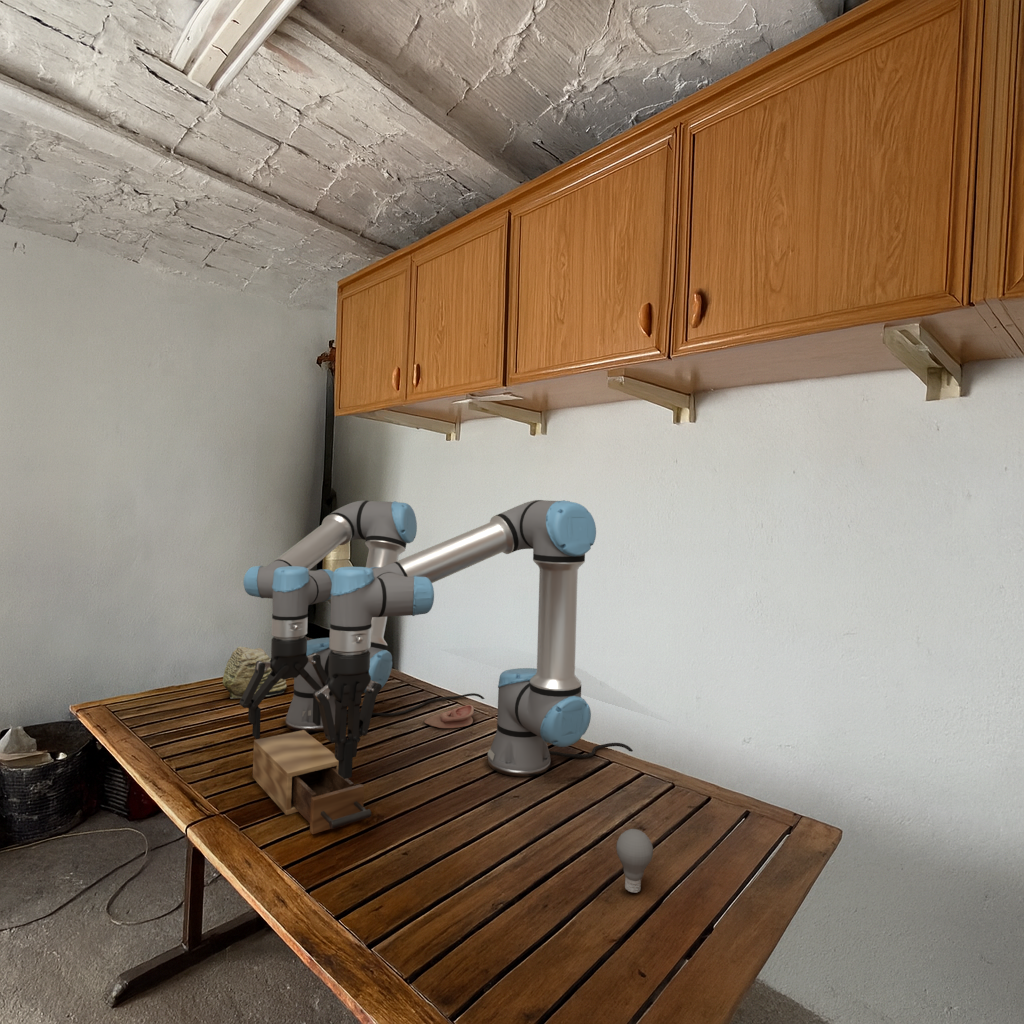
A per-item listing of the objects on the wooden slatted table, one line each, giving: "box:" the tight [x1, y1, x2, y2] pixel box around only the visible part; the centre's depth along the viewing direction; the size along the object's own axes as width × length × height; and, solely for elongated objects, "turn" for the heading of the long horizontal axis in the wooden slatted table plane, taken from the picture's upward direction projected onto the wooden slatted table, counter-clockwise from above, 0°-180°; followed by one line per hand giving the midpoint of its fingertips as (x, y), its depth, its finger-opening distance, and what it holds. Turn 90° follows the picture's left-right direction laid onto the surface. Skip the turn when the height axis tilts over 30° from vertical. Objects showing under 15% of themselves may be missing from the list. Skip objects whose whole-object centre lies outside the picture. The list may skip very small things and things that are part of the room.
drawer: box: [291, 767, 372, 835], centre depth 126 cm, size 25×10×6 cm, turn 40°
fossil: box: [222, 646, 288, 699], centre depth 198 cm, size 9×18×15 cm, turn 132°
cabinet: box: [252, 730, 339, 816], centre depth 137 cm, size 20×11×8 cm, turn 40°
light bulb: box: [615, 828, 654, 894], centre depth 106 cm, size 6×6×10 cm
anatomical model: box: [424, 704, 475, 729], centre depth 181 cm, size 13×4×12 cm
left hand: (287, 730), depth 142 cm, fingers open, 13 cm apart
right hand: (344, 775), depth 119 cm, fingers closed
